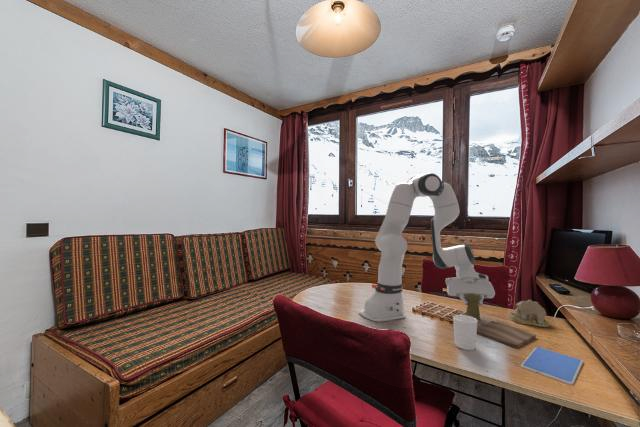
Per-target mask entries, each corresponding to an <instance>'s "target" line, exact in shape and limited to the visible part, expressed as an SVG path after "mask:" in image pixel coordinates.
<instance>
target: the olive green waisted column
mask: <svg viewBox="0 0 640 427" xmlns="http://www.w3.org/2000/svg"><path fill="white" fill-rule="evenodd" d="M466 300H468V305H466V311H465V313H466V314H465V315H467V316H471V317H473V318H475V319H477V321H478V322H479V321H481V313H480V306H479V304H478V302H479V301H481V299H480V298H479V296H478V295H476V294H468V295H467V297H466Z"/></svg>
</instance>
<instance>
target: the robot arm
mask: <svg viewBox="0 0 640 427" xmlns="http://www.w3.org/2000/svg"><path fill="white" fill-rule="evenodd" d="M417 197H422V198H424V197H428V198H430V200H431V202H432V204H433V205H432V206H433V209H434V216H433V217H432V218H431V220H430V233H431V243H432V261H433V263H434V265H435V266H436V267H437V268H439V269H442V270H444V269H449V268H453V267H454V269H455V271H456V272H455V275H456V277H447V278H445V280H444V282H445V285H446V291H447V295H448V296H449V297H459V299H460V300H461V301H462V303H463V305H466V306H468V300H467V295H468V294H476V295H478V296H479V298H480V300H479V302H478V305H479V307H483V306H484V302H483V301H484V299H493V298H494V297H495V295H496V291H495V289H494V286H493V284H492V282H490V281H489V276H488V275H486V274H482V273H479V272H477V271H476V270H475V268H474V267H475V265H474V264H475V263H476V258H475V256H474V251H473V249H472V247H471V246H468V245H467V244H458V245H453V246H449V247H442V245H441V244H442V243H441V231H442V230H443V229H444V228H446V227H447V226H449V224H452V223H453V222H455V220H456V219H457V218H458V217H459V215H460V210H461V209H460V205H459V201H458V199H457V196H456V193H455V191H454V189H453V187H452V185H451V184H450V183H448V182H444V181H442V179H441V178H440V176H438V175H437V174H436V173H432V172H426V173H419V174H417V175H415V176H412V177H411V178H409V180H408V181H407V182H399V183H397V184H396V185H395V187H394V188H393V191H392V192H391V196H390V199H389V201H388V206H387V209H386V213H385V215H384V219H383V221H382V224H381V226H380V228H379V229H378V232H377V235H376V236H375V239H374V242H375V245H376V248H377V249H378V250H379V251H380V252H381V253H380V255H381V256H380V261H379V264H378V268H377V270H378V273H377V275H378V276H377V277H378V279H377V283H376V284H375V283H372V284H371V288H372V289H374V291H373V292H372V293H371V295H369V297H368V298H367V299H366V300H365V303H364V308H363V309H360V310H359V314H360V316H362V317H364V318H365V319H368V320H370V321H373V322H379V323H382V322H386V321H387V322H388V321H393V320H401V319H406V314H405V313H406V312H405V306H404V305H405V304H404V299H403V294H402V293H403V288H404V287H403V283H402V280H403V279H402V277H403V276H402V274H403V273H402V272H403V271H402V270H403V262H404V258H405V254H406V252H407V250H408V242H407V240H406V239H405V237H403V236H402V234H403V231H404V229H405V228H406V226H407V225H408V223H409V220H410V218H411V217H410V216H411V212H412V208H413V205H414V202H415V200H416V198H417ZM465 297H466V298H465Z"/></svg>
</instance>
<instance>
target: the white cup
mask: <svg viewBox="0 0 640 427" xmlns="http://www.w3.org/2000/svg"><path fill="white" fill-rule="evenodd" d="M452 319H453V335H454V345H455V346H456V347H458V348H459V349H462V350H464V351H465V350H466V351H474V350H475V349H476V342H477V335H478V334H477V327H478V322H479V321H477V319H475V318H473V317H471V316H467V315H466V314H455V315H453V316H452Z"/></svg>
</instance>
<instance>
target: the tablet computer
mask: <svg viewBox="0 0 640 427" xmlns="http://www.w3.org/2000/svg"><path fill="white" fill-rule="evenodd" d="M583 364H584V361H583V360H582V359H580V358H576V357H574V356H570V355H567V354H564V353H560V352H557V351H554V350H550V349H547V348H544V347H541V346H540V347H539V346H536V347H534V349H533V350H532V351H531V352H530V354H529V355H528V356H527V357H526V358H525V360H524V361H523V362H522V363H521V365H520V366H521V368H523V369H525V370H528V371H530V372H534V373H536V374H539V375H542V376H545V377H547V378H551V379H553V380H555V379H556V380H555V381H558V380H559V382H561V381H562V382H561V383H564V384H566V385H569V386H573V385H574V384H575V382H576V379H577V377H578V374H579V372H580V370H581V368H582V365H583Z"/></svg>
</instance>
